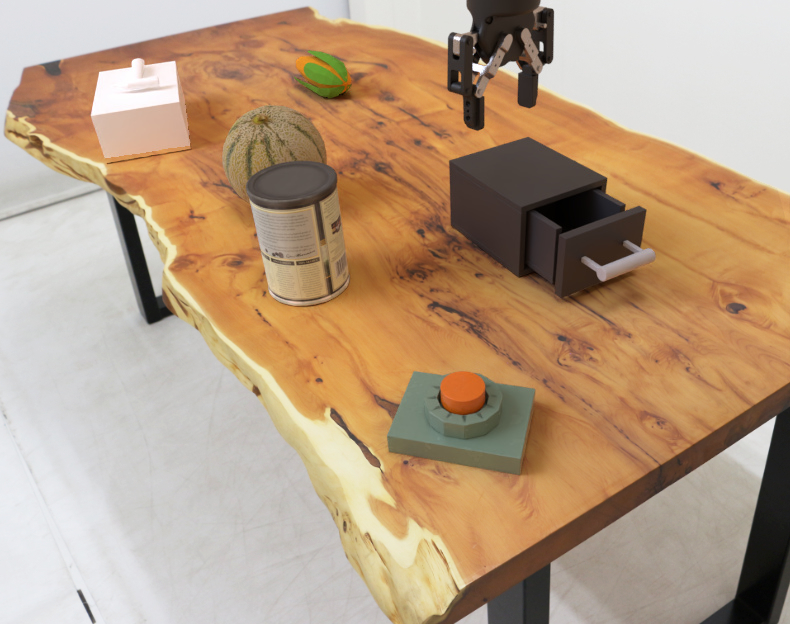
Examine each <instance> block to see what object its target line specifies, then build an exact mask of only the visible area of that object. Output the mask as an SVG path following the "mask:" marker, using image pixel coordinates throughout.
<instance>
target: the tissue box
mask: <svg viewBox="0 0 790 624" xmlns="http://www.w3.org/2000/svg"><path fill="white" fill-rule="evenodd" d="M185 102H186V98H185V95H184V91H183V87H182V82H181V79H180V74H179V71H178V66H177V62H176V60H172V61H164V62H159V63H158V62H157V63H152V64H145V60H144V59H143V58H139V57H137V58H134V59H132V61H131V67H123V68H117V69H110V70H103V71H99V72H98V77H97V82H96V86H95V92H94V97H93V102H92V108H91V112H90V118H91V121H92V124H93V128H94V130H95V133H96V136H97V139H98V142H99V146H100V148H101V152H102V154H103V157H104V159H105V158H111V157H119V156H124V155H132V154H140V153H146V152H152V151H159V150H162V149H168V148H177V147H185V146H190V143H191V138H190V139H189V135H190V129H189V130H188V126H189V121H188V122H187V118H188V112H187V113H186V109H187V104H186V105H185Z"/></svg>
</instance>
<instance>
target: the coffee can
mask: <svg viewBox="0 0 790 624" xmlns="http://www.w3.org/2000/svg"><path fill="white" fill-rule="evenodd" d="M337 184H338V174H337V172H336V170H335V169H334V168H333V167H332V166H330V165H329V164H327V165H326V164H324V163H320V162H315V161H290V162H284V163H279V164H276V165H272V166H269V167H267V168H265V169H262V170H260V171H259V172H257V173H255V174H254V175H253V176H251V177H250V178H249V180H248V181H247V183H246V191H247V194H248V196H249V200H250V204H249V205H250V208H251V213H252V217H253V222H254V225H255V231H256V235H257V241H258V246H259V249H260V255H261V258H262V264H263V268H264V272H265V278H266V282H267V290H268V293H269V295H270V296H271V297H272V298H273V299H274V300H276V301H277V302H279V303H281V304H284V305H287V306H293V307H294V306H295V307H308V306H315V305H319V304H323V303H327V302H329V301H330V300H334V299H335V298H337V297H338V296H340V295H341V294H342V293H343V292H344V291H345V290H346V289H347V288H348V286H349V284H350V279H351V276H350V275H351V274H350V271H349V265H348V257H347V249H346V243H345V236H344V235H345V234H344V228H343V221H342V214H341V213H342V212H341V206H340V199H339V191H338V185H337Z"/></svg>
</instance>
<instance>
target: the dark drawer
mask: <svg viewBox="0 0 790 624" xmlns="http://www.w3.org/2000/svg"><path fill="white" fill-rule="evenodd" d="M626 206H627V204H626V203H625V202H623V201H620V200H619V199H617V198H615V197H614V196H611V195H610V194H608V193H607V192H606V193H604V192H602V191H600V190H599V189H597V188H593V189H590V190H587V191H584V192H581V193H578V194H576V195H573V196H570V197H567V198H564V199H561V200H558V201H555V202H552V203H549V204H546V205H543V206H541V207H538V208H535V209H532V210H529V211H526V234H525V256H524V263H525V264H526V265H527V266H529V267H530V268H531V269H533V270H534V272H536V273H537V274H538V275H539V276H541V277H542V278H544V279H545V280H546V281H548V282H549V283H550V284H552V285H553V284H554V295H555V296H556V297H558V298H559V299H564V298H566V297H568V296H570V295H573V294H577V293H578V292H581V291H584V290H586V289H588V288H591V287H593V286H596V285H598V284H601V283H603V282H606V281H609V280H611V279H614V278H616V277H619V276H621V275H624V274H627V273H629V272H631V271H634V270H636V269H639V268H642V267H643V266H646V265H649V264H651V263H653V262H654V261H656V258H657V256H656V252H655V251H654V250H653V249H652V248H651V247H648V248H645V249H643V248H642V242H643V236H644V229H645V223H646V218H647V217H646V216H647V209H646V208H645V207H643V206H641V205H637V206H634V207H632V208H631V207H630V208H628V209H626Z"/></svg>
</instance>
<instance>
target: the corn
mask: <svg viewBox="0 0 790 624" xmlns="http://www.w3.org/2000/svg"><path fill="white" fill-rule="evenodd" d="M307 53H308V54H311V55H300V56H299V57H298V58H297V59H296V60H295V68H296V69H297V71H298V73H299V74H300V75H301V76H302V77H303V78H304V79H305V80H306V81H307V82H306V81H303V80H301V79H299V78H298V77H296V76H293V78H294V80H296V81H297V83H299V84H300V85H302V86H304V87H305V88H306V89H309V90H310V91H312V92H313V93H315V94H317V95H318V96H320V97H323V98H326V97H328V98H327V99H332V98H335V97H338V96H344V95H345V94H346V93H348V92H349V90H350V89H351V88H352V82H353V81H352V77H351V75H350V72H349V70H348V68H347V67H346V64H345V63H344V62H343V61H341V60H339V58H336V57H335V56H333V55H331V54H330V53H327V52H323V51H319V50H311V49H309V50H308V51H307ZM339 94H341V95H339Z"/></svg>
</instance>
